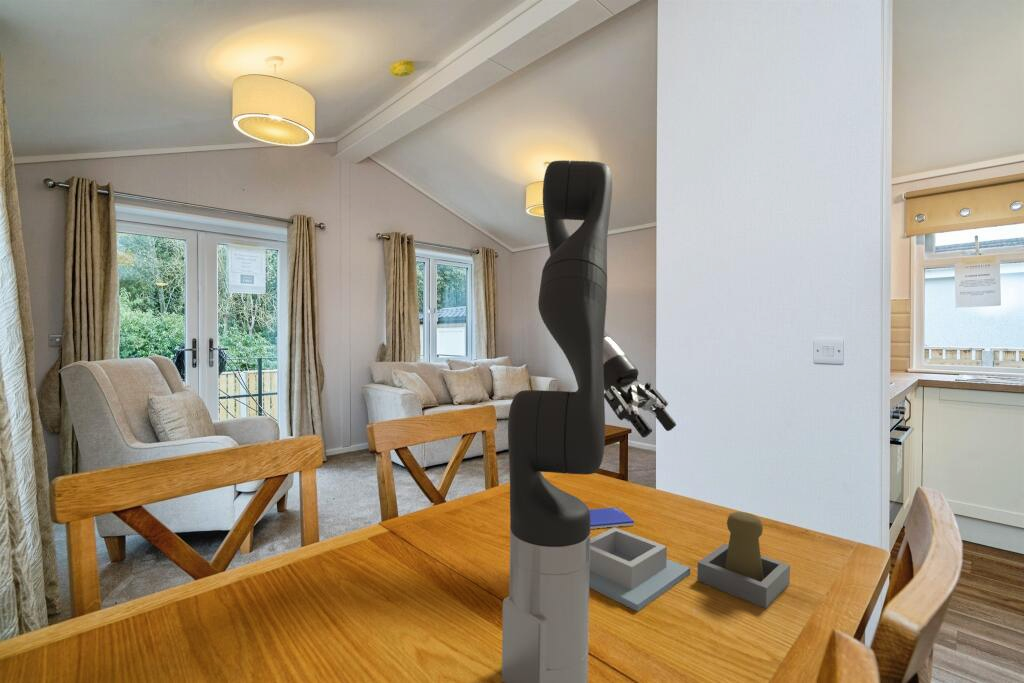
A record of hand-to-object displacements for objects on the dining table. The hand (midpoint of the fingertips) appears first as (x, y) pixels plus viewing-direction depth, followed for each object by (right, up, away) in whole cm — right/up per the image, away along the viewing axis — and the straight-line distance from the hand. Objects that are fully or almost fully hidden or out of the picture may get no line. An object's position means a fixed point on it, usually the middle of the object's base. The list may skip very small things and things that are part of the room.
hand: (660, 431), depth 87 cm
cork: (+10, -23, -11) cm, 27 cm away
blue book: (-9, -22, +14) cm, 28 cm away
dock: (-9, -22, -8) cm, 25 cm away
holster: (+10, -22, -11) cm, 27 cm away
